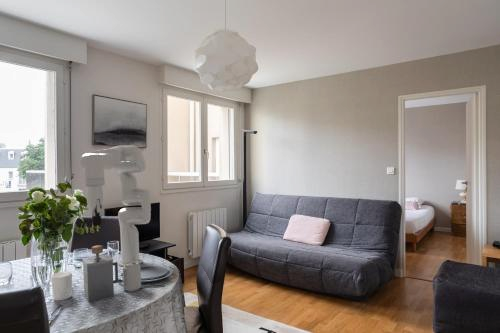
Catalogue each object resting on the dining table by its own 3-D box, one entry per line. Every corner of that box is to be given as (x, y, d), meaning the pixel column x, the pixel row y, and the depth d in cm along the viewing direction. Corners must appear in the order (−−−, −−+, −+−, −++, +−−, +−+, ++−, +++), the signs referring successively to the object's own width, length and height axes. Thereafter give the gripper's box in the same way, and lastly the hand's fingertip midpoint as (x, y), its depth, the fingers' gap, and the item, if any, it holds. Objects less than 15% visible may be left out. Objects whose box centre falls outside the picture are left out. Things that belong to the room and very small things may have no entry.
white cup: (58, 302, 138) (57, 278, 138) (48, 299, 142) (47, 275, 142) (76, 295, 145) (75, 273, 145) (66, 292, 149) (65, 270, 149)
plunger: (91, 279, 145) (90, 246, 145) (102, 277, 148) (101, 244, 147) (93, 282, 141) (92, 248, 141) (104, 280, 144) (103, 246, 144)
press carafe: (83, 294, 146) (82, 258, 146) (115, 287, 154) (114, 252, 153) (88, 302, 137) (86, 264, 137) (121, 294, 145) (120, 258, 145)
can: (144, 288, 151) (143, 262, 151) (128, 293, 146) (127, 266, 146) (136, 284, 156) (135, 259, 156) (120, 289, 151) (119, 263, 151)
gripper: (82, 182, 148) (84, 223, 148) (88, 184, 135) (90, 229, 136) (100, 181, 152) (102, 221, 153) (108, 183, 140) (110, 226, 141)
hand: (96, 224), depth 144 cm, fingers closed
